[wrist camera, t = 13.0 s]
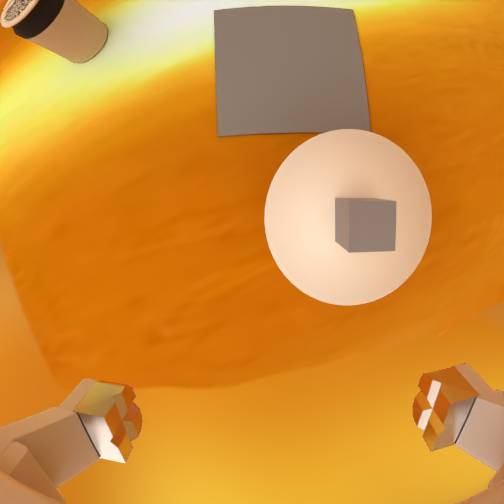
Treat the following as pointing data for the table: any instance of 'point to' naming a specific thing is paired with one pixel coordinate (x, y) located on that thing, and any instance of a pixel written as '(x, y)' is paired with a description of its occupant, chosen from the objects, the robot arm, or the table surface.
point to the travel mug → (57, 27)
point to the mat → (288, 71)
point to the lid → (348, 217)
